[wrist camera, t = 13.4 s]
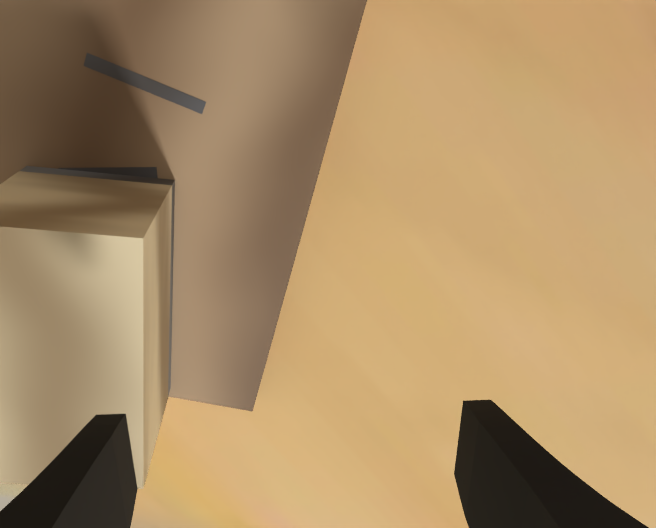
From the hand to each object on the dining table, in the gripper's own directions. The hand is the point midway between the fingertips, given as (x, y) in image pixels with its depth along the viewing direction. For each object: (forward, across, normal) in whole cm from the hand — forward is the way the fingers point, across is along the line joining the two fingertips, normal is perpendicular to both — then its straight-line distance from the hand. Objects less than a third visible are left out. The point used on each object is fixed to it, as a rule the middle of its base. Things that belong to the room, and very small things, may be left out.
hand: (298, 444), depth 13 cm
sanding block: (+9, +6, 0) cm, 11 cm away
